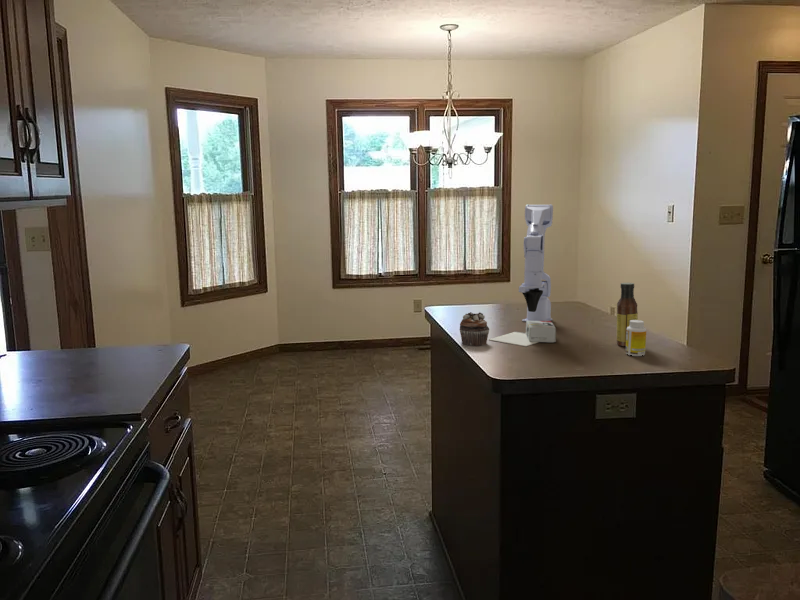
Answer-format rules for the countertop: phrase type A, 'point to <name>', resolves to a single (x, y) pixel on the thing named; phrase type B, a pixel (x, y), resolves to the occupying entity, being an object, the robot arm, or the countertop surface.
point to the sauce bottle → (625, 311)
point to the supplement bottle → (636, 338)
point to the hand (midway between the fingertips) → (532, 311)
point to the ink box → (540, 331)
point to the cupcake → (474, 330)
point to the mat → (514, 339)
